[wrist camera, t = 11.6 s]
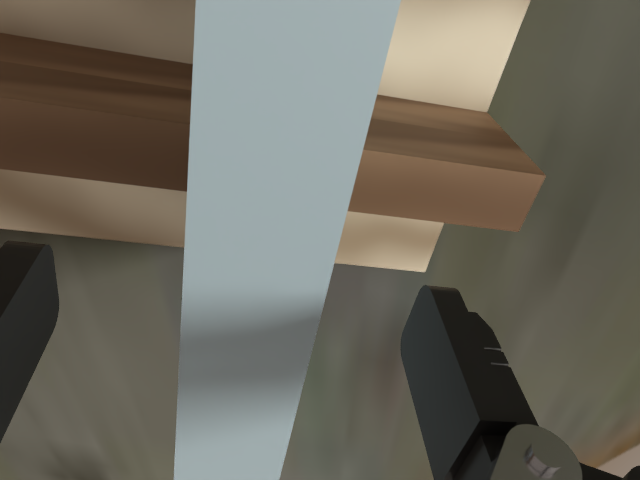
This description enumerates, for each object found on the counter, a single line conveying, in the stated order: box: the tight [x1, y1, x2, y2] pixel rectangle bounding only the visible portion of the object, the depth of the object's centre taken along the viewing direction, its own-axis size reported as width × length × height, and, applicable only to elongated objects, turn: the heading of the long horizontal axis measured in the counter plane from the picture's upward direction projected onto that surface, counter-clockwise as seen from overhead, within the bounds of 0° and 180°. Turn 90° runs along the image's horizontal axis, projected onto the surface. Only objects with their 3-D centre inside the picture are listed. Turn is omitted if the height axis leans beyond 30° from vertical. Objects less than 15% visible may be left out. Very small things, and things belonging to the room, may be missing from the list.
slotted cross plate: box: [174, 0, 401, 480], centre depth 16 cm, size 14×3×13 cm, turn 169°
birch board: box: [0, 0, 530, 272], centre depth 21 cm, size 16×32×1 cm, turn 79°
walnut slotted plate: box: [0, 33, 546, 232], centre depth 19 cm, size 2×20×6 cm, turn 79°
